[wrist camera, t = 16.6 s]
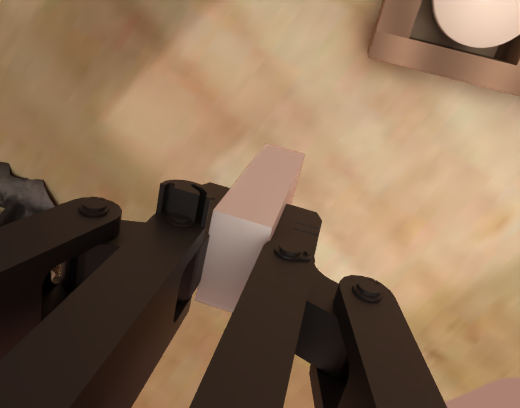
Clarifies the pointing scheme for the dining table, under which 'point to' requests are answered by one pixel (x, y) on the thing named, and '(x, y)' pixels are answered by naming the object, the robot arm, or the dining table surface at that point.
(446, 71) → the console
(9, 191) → the vase
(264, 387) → the robot arm
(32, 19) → the dining table surface
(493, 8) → the ivory button
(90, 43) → the dining table surface
